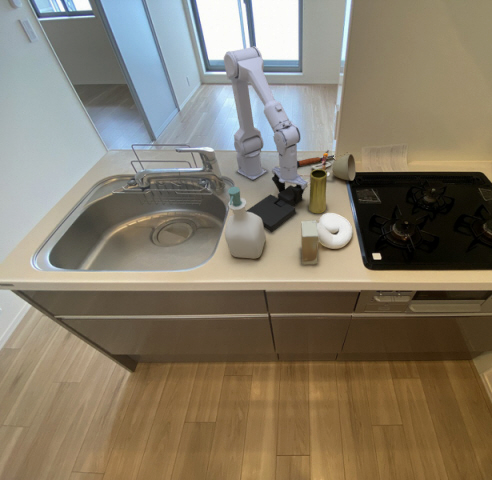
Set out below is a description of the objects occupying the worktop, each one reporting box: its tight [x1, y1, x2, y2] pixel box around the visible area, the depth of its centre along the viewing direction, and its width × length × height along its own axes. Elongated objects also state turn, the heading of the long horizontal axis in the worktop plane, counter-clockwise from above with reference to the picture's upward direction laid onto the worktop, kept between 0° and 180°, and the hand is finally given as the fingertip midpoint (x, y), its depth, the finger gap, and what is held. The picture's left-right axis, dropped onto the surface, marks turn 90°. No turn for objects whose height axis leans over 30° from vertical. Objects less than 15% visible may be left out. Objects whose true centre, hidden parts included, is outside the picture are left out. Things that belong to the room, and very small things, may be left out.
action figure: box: [321, 149, 331, 178], centre depth 111 cm, size 12×3×9 cm, turn 169°
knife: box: [297, 154, 335, 168], centre depth 120 cm, size 26×3×5 cm
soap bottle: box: [224, 186, 267, 260], centre depth 77 cm, size 10×10×23 cm
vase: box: [308, 169, 328, 214], centre depth 94 cm, size 6×6×14 cm
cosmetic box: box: [300, 219, 319, 265], centre depth 79 cm, size 6×4×12 cm
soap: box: [310, 161, 333, 170], centre depth 117 cm, size 10×4×1 cm, turn 129°
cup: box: [331, 153, 356, 182], centre depth 109 cm, size 10×10×7 cm
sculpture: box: [317, 212, 354, 250], centre depth 87 cm, size 12×15×8 cm
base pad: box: [246, 194, 297, 233], centre depth 96 cm, size 12×12×2 cm
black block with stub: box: [276, 184, 303, 207], centre depth 100 cm, size 6×10×4 cm, turn 140°
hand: (290, 197), depth 101 cm, fingers open, 7 cm apart
